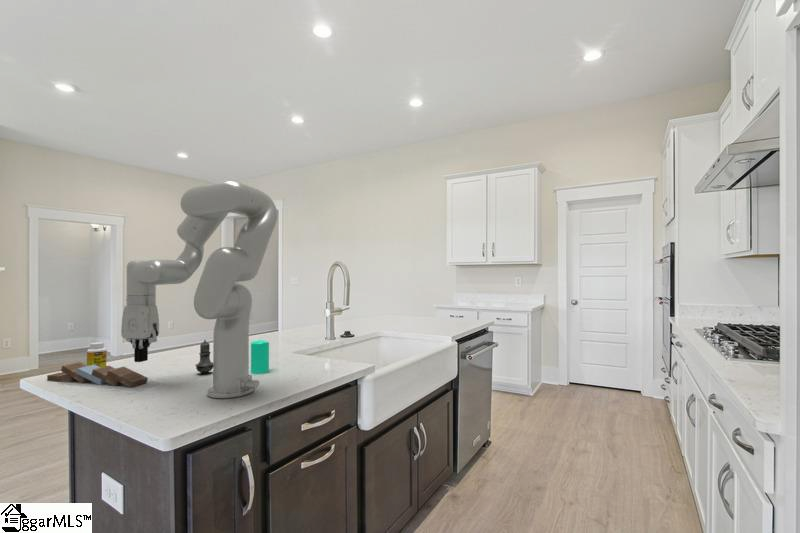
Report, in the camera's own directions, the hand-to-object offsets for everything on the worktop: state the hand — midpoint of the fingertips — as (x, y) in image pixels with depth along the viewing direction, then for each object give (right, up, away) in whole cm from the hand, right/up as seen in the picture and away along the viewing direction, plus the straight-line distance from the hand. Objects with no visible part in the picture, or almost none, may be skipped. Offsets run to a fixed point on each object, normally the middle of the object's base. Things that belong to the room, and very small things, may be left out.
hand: (141, 361), depth 122 cm
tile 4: (-19, -7, +5) cm, 20 cm away
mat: (-11, -8, +3) cm, 14 cm away
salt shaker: (+13, -8, +14) cm, 21 cm away
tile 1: (0, -7, 0) cm, 7 cm away
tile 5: (-24, -7, +6) cm, 25 cm away
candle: (+30, -8, +18) cm, 36 cm away
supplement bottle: (-28, -9, +19) cm, 34 cm away
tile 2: (-6, -7, +2) cm, 9 cm away
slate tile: (-12, -7, +3) cm, 14 cm away
